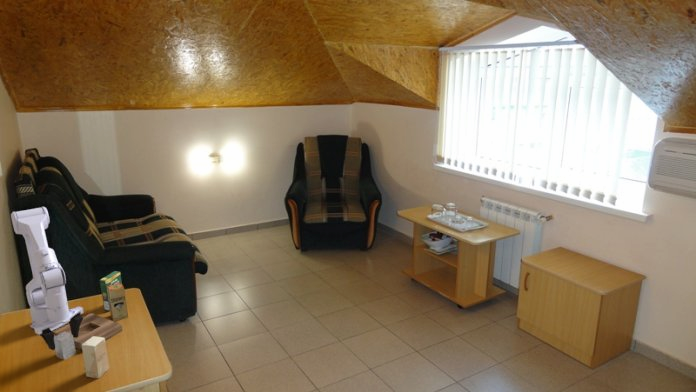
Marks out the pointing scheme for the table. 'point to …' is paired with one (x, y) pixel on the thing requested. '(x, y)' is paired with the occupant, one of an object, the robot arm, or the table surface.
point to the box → (95, 357)
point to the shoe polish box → (117, 301)
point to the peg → (64, 345)
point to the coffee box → (106, 281)
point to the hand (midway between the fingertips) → (64, 342)
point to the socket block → (93, 329)
